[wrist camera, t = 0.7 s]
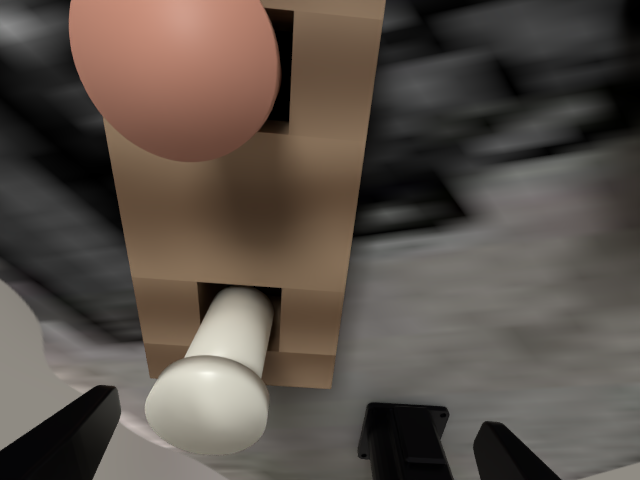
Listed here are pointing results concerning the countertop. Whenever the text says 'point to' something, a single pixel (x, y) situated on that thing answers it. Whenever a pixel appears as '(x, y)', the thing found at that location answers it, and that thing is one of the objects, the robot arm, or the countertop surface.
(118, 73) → the brick plug
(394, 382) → the countertop surface
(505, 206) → the countertop surface
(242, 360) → the cream plug
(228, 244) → the socket board
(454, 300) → the countertop surface
